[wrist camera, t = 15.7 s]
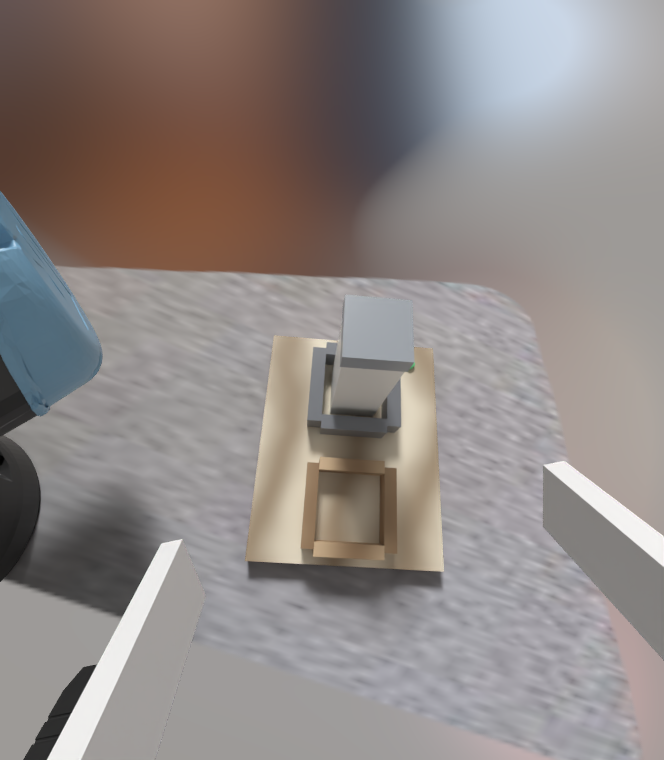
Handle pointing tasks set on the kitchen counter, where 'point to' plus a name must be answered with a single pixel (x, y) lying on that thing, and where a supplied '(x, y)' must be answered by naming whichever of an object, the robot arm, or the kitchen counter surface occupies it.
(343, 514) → the board
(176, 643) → the robot arm
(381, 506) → the holster
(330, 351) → the port
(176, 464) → the kitchen counter surface
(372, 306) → the plug
